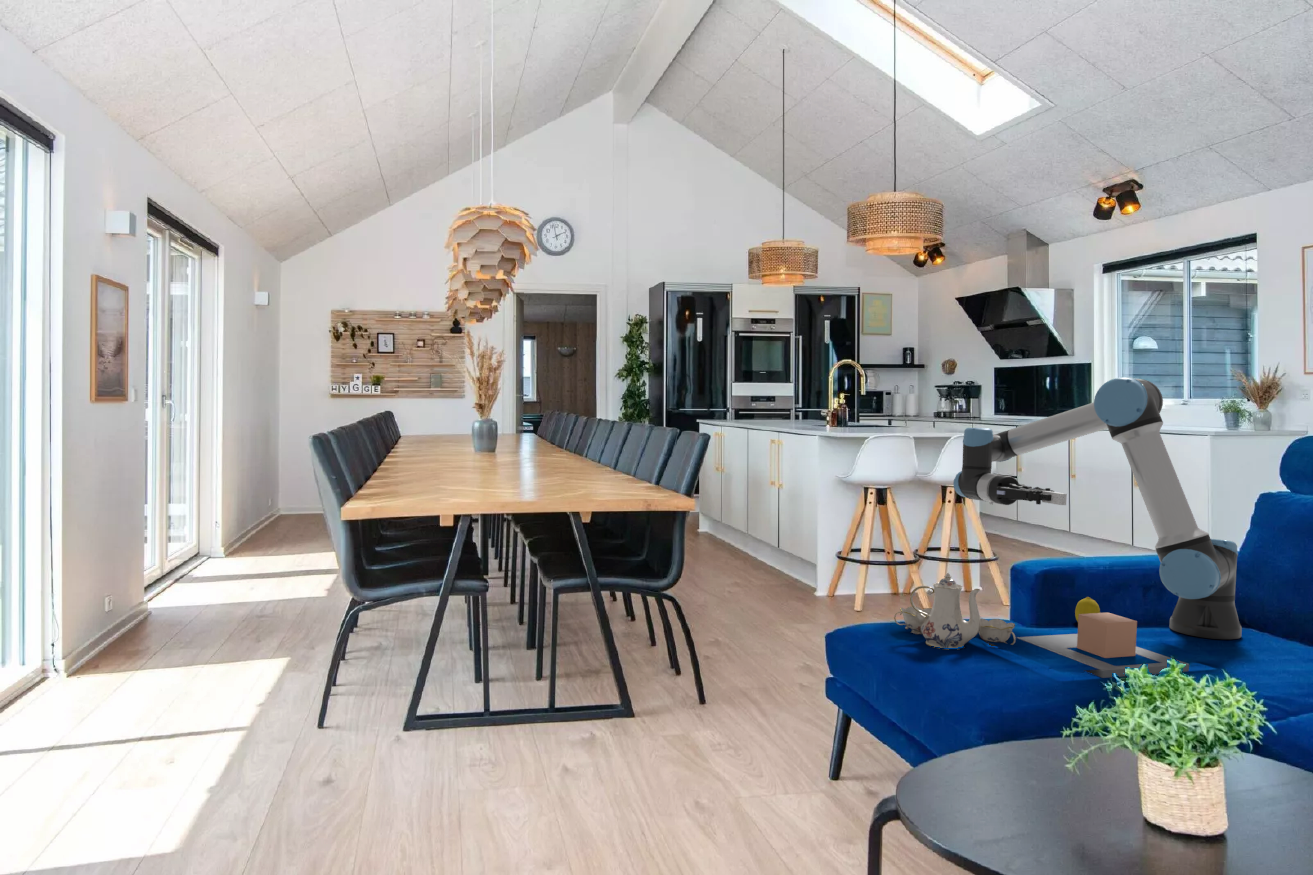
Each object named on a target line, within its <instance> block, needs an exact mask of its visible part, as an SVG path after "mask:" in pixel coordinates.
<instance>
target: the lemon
mask: <svg viewBox="0 0 1313 875" xmlns="http://www.w3.org/2000/svg"><path fill="white" fill-rule="evenodd" d="M1074 613H1075V614H1074V616H1075V620H1076V621H1077V623H1078V617H1079V614H1090V613H1101V608H1100V606H1099V604H1098V603H1097V601H1096V600H1094V599H1093V598H1091V597H1089V596H1086V597H1085V598H1083V599H1081V600H1079V601H1078V602H1077V604H1076V606H1075V610H1074Z"/></svg>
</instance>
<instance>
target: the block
mask: <svg viewBox="0 0 1313 875" xmlns="http://www.w3.org/2000/svg"><path fill="white" fill-rule="evenodd" d="M1137 627H1138V621H1137V620H1134V619H1130V618H1128V617H1124V616H1121V615H1118V614H1114V613H1110V612H1100V613H1090V614H1079V617H1078V622H1077V634H1078V637H1077V647H1076V648H1077V649H1079V650H1081V651H1084V652H1087V653H1089V654H1092V655H1096V656H1099V657H1101V658H1104V659H1110V658H1121V657H1122V658H1124V657H1125V658H1126V657H1136V654H1135V653H1136V646H1137V631H1138V628H1137Z"/></svg>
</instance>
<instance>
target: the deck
mask: <svg viewBox="0 0 1313 875" xmlns="http://www.w3.org/2000/svg"><path fill="white" fill-rule="evenodd" d="M1077 637H1078V633H1069V634H1068V633H1067V634H1052V635H1051V634H1049V635H1047V634H1046V635H1033V636H1020V637H1019V636H1015V638H1016V639H1018V640H1021V641H1023V642H1025V643H1029V644H1031V645H1033V646H1037V647H1039V648H1042V649H1044V650H1047V651H1050V652H1053V653H1055V654H1058V655H1060V656H1063V657H1066V658H1068V659H1071V660H1073V661H1077V662H1079V663H1082V664H1084V665H1086V666H1090V667H1092V668H1094V669H1088V670H1087V669H1085V670H1083V671H1084V672H1086V673H1089V674H1091V673H1092V674H1091V675H1094V676H1097V677H1098V678H1102V679H1105V678H1108V679H1109V678H1113V677H1112V673H1116V674H1117V675H1118V676H1119V677H1126V676H1125V667H1130V668H1139V667H1140V666H1141V665H1142V664H1143V663H1141V664H1129V665H1128V664H1127V665H1113V664H1110V663H1108V662H1105V661H1102V660H1100V659H1097V658H1095V657H1092V656H1089V655H1086V654H1084V653H1082V652H1081V653H1080V652H1077V651H1076V650H1072V649H1073V648H1074V649H1075V648H1077ZM1135 655H1137V656H1140V657H1144V658H1146V659H1149V660H1152V661H1155V663H1152V662H1151V663H1147V664H1148V669H1149V672H1150V673H1152V674H1151V675H1156V674H1157V675H1158V674H1159V675H1160V673H1159V672H1160V671H1161V670H1162V669H1164V668H1167V659H1170V658H1171V657H1169V656H1166V655H1164V654H1160V653H1157V652H1154V651H1152V650H1148V649H1146V648H1142V647H1139V646H1137V645H1136V653H1135ZM1176 660H1177V661H1179V662H1180V663H1183V664H1186V666H1185V667H1184V668H1183V673H1184V672H1189V671H1190V669H1189V668H1190V663H1188V662H1185V661H1182V660H1178V659H1176ZM1123 673H1124V674H1123Z"/></svg>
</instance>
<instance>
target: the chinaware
mask: <svg viewBox="0 0 1313 875" xmlns="http://www.w3.org/2000/svg"><path fill="white" fill-rule="evenodd" d="M931 585H932V586H933V587H932V586H929V585H919V586H917V587H915V588H914V589H913V590H912V591H911V593H910V595H909V596H910V597H909V602H910V605H911V606H907V607H906V608H904V607H900V608H899V611H897V612H896V613H894V614H895V615H894V617H893V619H894V622H895V623H896V625H899V626H903V625H904V626H905V627H904V628H905V629H906V630H909V629H911V632H910V633H913V634H915V635H922V636H923V637H924V639H925V640H926V641H925V644H926V645H927V646H929V647H931V646H934V647H933V648H935V647H940V648H958V647H962V646H964V645H965V644H967V643H968V642H969V641H971V640H972V639H973V638H974V637H976V636H977V635H979V637H980V638H981V639H982V640H983V641H984V642H985V643H986V644H989V645H991V646H998V645H997V644H994V643H1005V644H1007V641H1008V640H1009V638H1010V637H1011V635H1012V637H1013V642H1012V643H1010V645H1012V646H1013V645H1014V644H1015V643H1016V640H1017V638H1016V635H1015V633H1014V632H1013V629H1015V627H1016V624H1015V622H1014V623H1013V622H1006V621H1004V620H1003V619H999V618H992V619H989V620H987V619H985V618H982V617H981V614H980V610H979V607H978V603H977V599H976V598H977V597H976V596H977V594H978V593H979V592H980V591H981V589H980V588H973V590H971V591H970V592H969V595H968V610H969V620H965V619H964V618H963V614H962V610H961V592H962V589H963V587H964V586H963V585H961V584H957V582H956V580H955V579H953V578H952V575H951V574H950V572H946V574H945V575H944V578H941V579H940V580H939V582H934V583H932V584H931ZM920 589H928V590H927V591H926V594H928V595H929V596H931V595H932V594H934V597H933V598H934V599H933V604H932V607H926V608H921V607H919V606H916V605H915V603H914V598H913V597H914V595H915V593H916V592H917V591H918V590H920ZM897 614H900V616H901V615H902V618H903V621H904V623H899V622H898V621H897V619H896V616H897ZM991 642H993V643H991ZM940 648H939V649H940Z"/></svg>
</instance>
